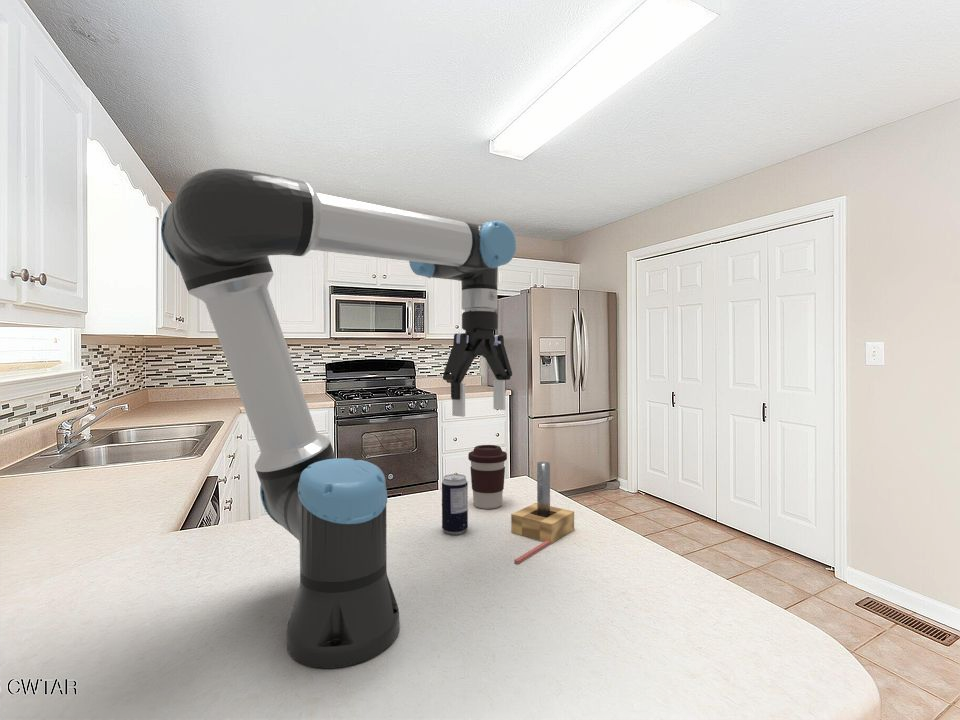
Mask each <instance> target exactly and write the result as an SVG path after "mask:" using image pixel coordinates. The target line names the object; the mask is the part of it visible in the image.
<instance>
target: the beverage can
mask: <svg viewBox="0 0 960 720" xmlns="http://www.w3.org/2000/svg"><path fill="white" fill-rule="evenodd" d="M468 484H469V482H468V480H467V476H466V475H465V474H460V473H450V474H446V475H444V476H443V479H442V482H441V529H442V530H443V531H444V532H445V533H446V534H448V535H453V536H454V535H461V534H463V533H465V531H466V530H467V529H468V528H469V517H468V516H469V513H468V511H469V507H468V506H469V505H468V504H469V503H468V498H469V496H468V488H469V487H468V486H469V485H468Z"/></svg>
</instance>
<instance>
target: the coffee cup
mask: <svg viewBox="0 0 960 720" xmlns="http://www.w3.org/2000/svg"><path fill="white" fill-rule="evenodd" d="M467 457H468V460H469V462H470V478H471V479H470V480H471V481H470V482H471V489H472V497H473V505H474V506H475V507H476V508H479V509H482V510H483V509H484V510H491V509H498V508H500V507H501V506H502V504H503V493H504V491H503V490H504V489H505V487H504V486H505V472H506V466H505V461H507V459H508V453H507V452H506V451H504V450H502V448H501V446H499V445H495V444H494V445H493V444H481V445H479V444H478V445H475V446H474V448H473V450H472V451H470V452H468V455H467Z"/></svg>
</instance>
